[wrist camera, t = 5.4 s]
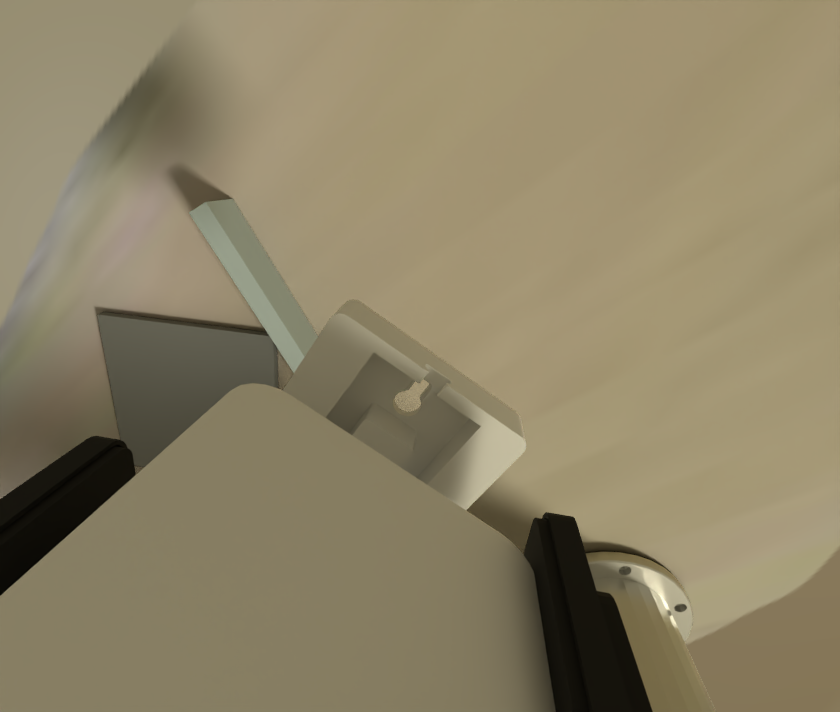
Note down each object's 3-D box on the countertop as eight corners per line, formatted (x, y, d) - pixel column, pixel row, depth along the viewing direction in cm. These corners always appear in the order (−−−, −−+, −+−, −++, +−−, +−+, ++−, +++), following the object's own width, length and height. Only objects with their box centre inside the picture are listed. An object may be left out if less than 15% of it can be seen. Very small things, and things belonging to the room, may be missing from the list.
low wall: (393, 459, 33) (386, 485, 30) (379, 464, 33) (371, 491, 30) (232, 198, 27) (205, 201, 24) (217, 208, 27) (188, 212, 25)
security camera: (216, 470, 14) (-333, 1103, 4) (336, 284, 11) (-356, 839, 2) (390, 577, 14) (244, 1301, 5) (538, 427, 12) (771, 1302, 3)
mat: (281, 481, 35) (278, 486, 34) (130, 459, 35) (125, 464, 35) (276, 333, 30) (272, 336, 29) (103, 311, 31) (97, 314, 30)
